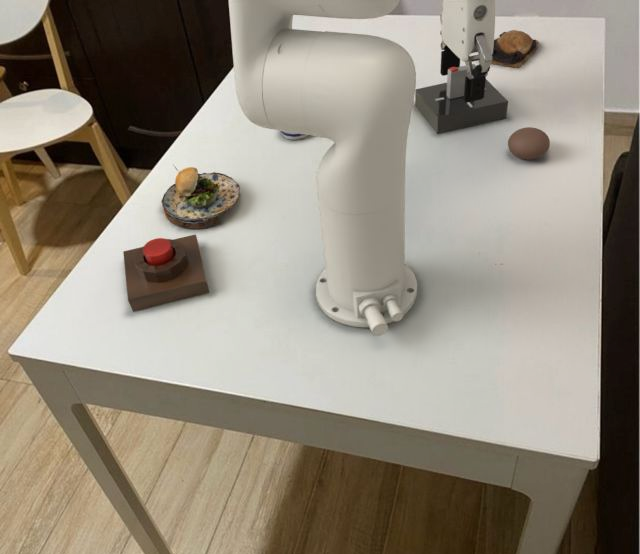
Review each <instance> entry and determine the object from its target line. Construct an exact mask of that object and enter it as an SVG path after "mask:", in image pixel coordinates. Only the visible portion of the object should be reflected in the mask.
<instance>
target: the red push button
mask: <svg viewBox="0 0 640 554" xmlns="http://www.w3.org/2000/svg"><path fill="white" fill-rule="evenodd" d="M167 239H168V238H163V237H158V238H153V239H151V240H149V241H147V242H146V243H145V244H144V245H143V246H144V247H143V246H142V247H143V253H144V255H145V258H146V261H147V263H148V264H149V265H152V266H159V265H163V264H166V263H168V262H169V261H171V260H172V259H173V258H174V252H173V249H172V246H171V243H170V241H169V240H167Z"/></svg>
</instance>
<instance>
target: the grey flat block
mask: <svg viewBox="0 0 640 554" xmlns="http://www.w3.org/2000/svg"><path fill="white" fill-rule="evenodd" d="M472 66H473V69H474V68H475V67H476V66H477V65H476V64H475V63H472ZM446 76H447V78H446V83H447V97H448V98H449V99H453V98H458V97H462V96H464V87H465V77H468V74H467V69H466V65H462V66H461V65H460V67H451V68H449V69H448V75H446Z"/></svg>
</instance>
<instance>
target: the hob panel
mask: <svg viewBox="0 0 640 554" xmlns="http://www.w3.org/2000/svg"><path fill="white" fill-rule="evenodd" d="M414 106H415V108H416V109H417V110H418V111H419V112H420V114H421V115H422V117H423V118H424V119H425V121H426V122H427V123H428V124H429V126H430V127H431V128H432V129H433V130H434V132H435V133H436V134H437V135H439V134H443V133H447V132H452V131H456V130H457V131H458V130H461V129H464V128H469V127H470V128H471V127H473V126H478V125H483V124H487V123H491V122H495V121H500V120H504V119H507V115H508V108H509V107H508V106H509V100H508V99H507V98H506V97H505V96H504V95H503V94H502V93H501V92H500V91H499V90H498V89H497V88H496V87H495V86H494V85H493V84H492V83H491V82H489V80H488V79H487V78H486V81H485V92H484V98H483V99H481V100H476V101H471V102H465V101H464V96H462V97H458V98H453V99H449V98H448V97H447V82H443V83H439V84H433V85H429V86H424V87H421V88H415V95H414Z"/></svg>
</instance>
